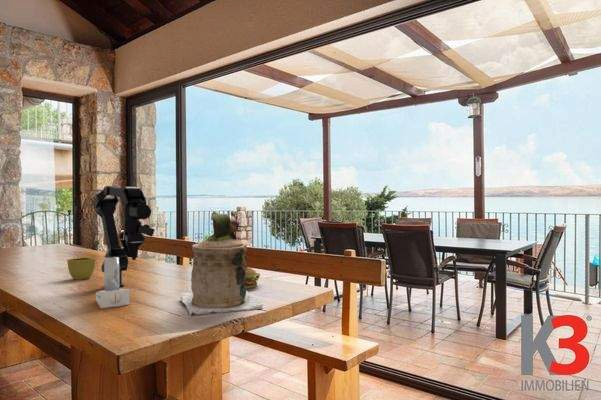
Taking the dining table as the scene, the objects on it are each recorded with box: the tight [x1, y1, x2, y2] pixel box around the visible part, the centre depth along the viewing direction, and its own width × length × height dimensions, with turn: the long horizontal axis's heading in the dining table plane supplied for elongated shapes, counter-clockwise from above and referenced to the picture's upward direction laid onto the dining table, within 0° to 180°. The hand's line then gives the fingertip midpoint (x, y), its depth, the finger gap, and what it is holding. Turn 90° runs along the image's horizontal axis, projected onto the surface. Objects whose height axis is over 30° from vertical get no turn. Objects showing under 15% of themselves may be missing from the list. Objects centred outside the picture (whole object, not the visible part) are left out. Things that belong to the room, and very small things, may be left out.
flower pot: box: [66, 256, 97, 281], centre depth 190 cm, size 9×9×9 cm
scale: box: [95, 288, 131, 309], centre depth 146 cm, size 13×10×5 cm
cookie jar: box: [180, 211, 264, 316], centre depth 144 cm, size 25×25×32 cm
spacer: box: [103, 257, 120, 291], centre depth 147 cm, size 5×5×12 cm
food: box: [244, 266, 261, 290], centre depth 172 cm, size 14×14×8 cm
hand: (131, 258), depth 163 cm, fingers open, 9 cm apart
